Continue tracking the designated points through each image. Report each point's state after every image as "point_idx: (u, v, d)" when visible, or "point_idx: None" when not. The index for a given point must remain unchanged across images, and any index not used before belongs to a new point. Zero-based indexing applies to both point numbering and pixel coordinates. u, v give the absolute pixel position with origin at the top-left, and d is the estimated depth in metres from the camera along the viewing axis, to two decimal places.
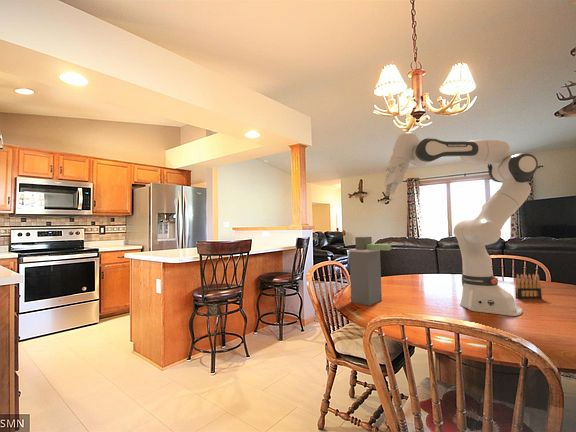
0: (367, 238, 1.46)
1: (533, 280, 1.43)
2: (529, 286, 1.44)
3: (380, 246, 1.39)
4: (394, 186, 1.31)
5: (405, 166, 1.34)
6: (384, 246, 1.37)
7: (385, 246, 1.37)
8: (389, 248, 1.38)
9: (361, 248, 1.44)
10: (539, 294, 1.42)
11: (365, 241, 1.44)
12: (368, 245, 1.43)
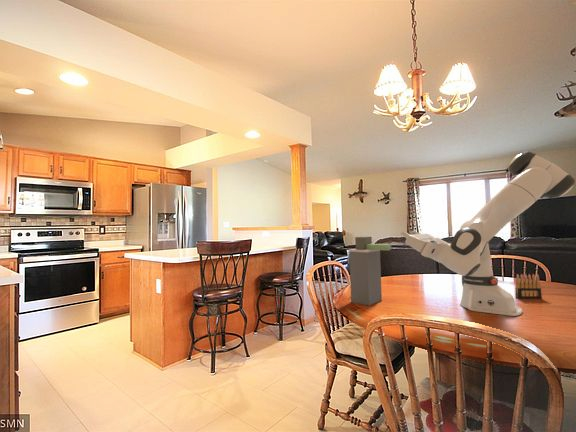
0: (367, 238, 1.46)
1: (533, 280, 1.43)
2: (529, 286, 1.44)
3: (380, 246, 1.39)
4: None
5: None
6: (384, 246, 1.37)
7: (385, 246, 1.37)
8: (389, 248, 1.38)
9: (361, 248, 1.44)
10: (539, 294, 1.42)
11: (365, 241, 1.44)
12: (368, 245, 1.43)
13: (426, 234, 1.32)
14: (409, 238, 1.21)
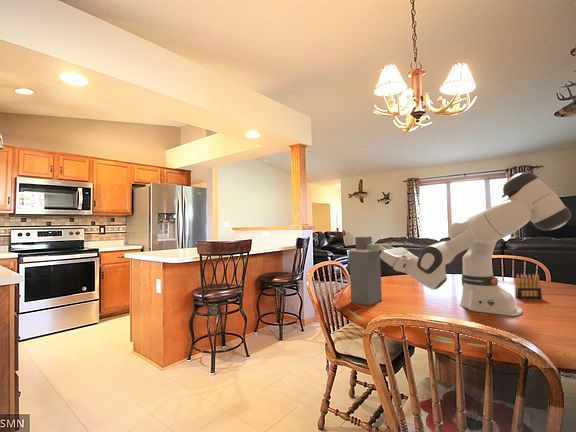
0: (367, 238, 1.46)
1: (533, 280, 1.43)
2: (529, 286, 1.44)
3: None
4: None
5: None
6: (384, 246, 1.37)
7: (385, 246, 1.37)
8: (389, 248, 1.38)
9: (361, 248, 1.44)
10: (539, 294, 1.42)
11: (365, 241, 1.44)
12: (368, 245, 1.43)
13: (401, 248, 1.40)
14: (382, 253, 1.29)
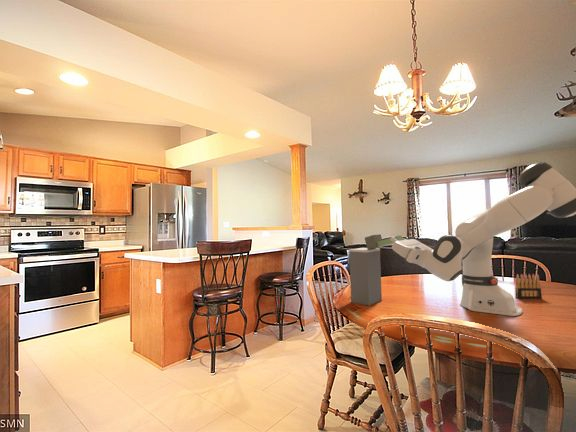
0: (377, 236, 1.43)
1: (533, 280, 1.43)
2: (529, 286, 1.44)
3: None
4: None
5: None
6: None
7: (396, 237, 1.34)
8: (401, 239, 1.34)
9: (373, 247, 1.41)
10: (539, 294, 1.42)
11: (375, 239, 1.41)
12: (379, 242, 1.40)
13: (413, 240, 1.37)
14: (395, 244, 1.25)
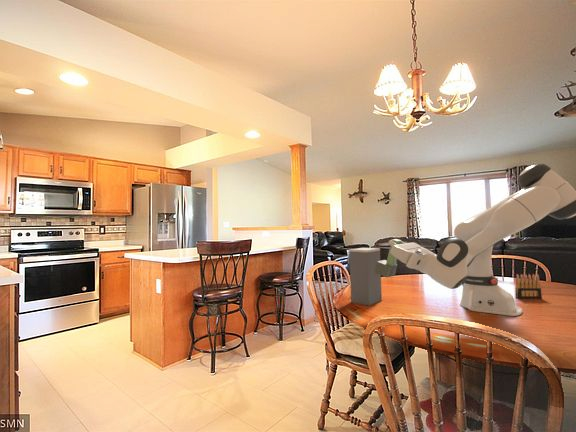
0: (382, 261, 1.29)
1: (533, 280, 1.43)
2: (529, 286, 1.44)
3: (391, 247, 1.24)
4: None
5: None
6: None
7: None
8: (398, 240, 1.24)
9: (387, 269, 1.24)
10: (539, 294, 1.42)
11: (382, 262, 1.27)
12: (387, 261, 1.25)
13: (413, 243, 1.26)
14: (394, 248, 1.15)
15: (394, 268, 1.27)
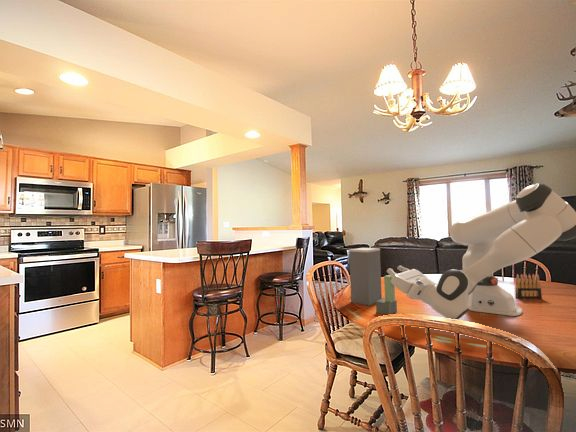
0: (381, 299, 1.29)
1: (533, 280, 1.43)
2: (529, 286, 1.44)
3: (386, 283, 1.26)
4: None
5: None
6: (385, 279, 1.26)
7: (385, 278, 1.26)
8: (390, 275, 1.27)
9: (387, 307, 1.24)
10: (539, 294, 1.42)
11: (381, 301, 1.27)
12: (386, 298, 1.26)
13: (413, 270, 1.26)
14: (394, 278, 1.15)
15: (394, 304, 1.27)
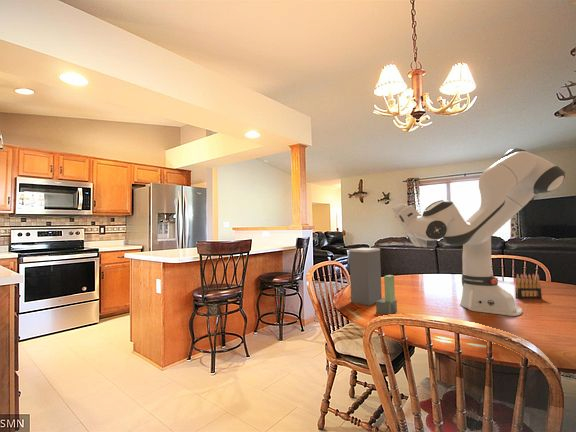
0: (381, 299, 1.29)
1: (533, 280, 1.43)
2: (529, 286, 1.44)
3: (386, 284, 1.26)
4: None
5: None
6: (385, 279, 1.26)
7: (385, 278, 1.26)
8: (390, 275, 1.27)
9: (387, 307, 1.24)
10: (539, 294, 1.42)
11: (381, 301, 1.27)
12: (386, 298, 1.26)
13: None
14: (397, 204, 1.28)
15: (394, 304, 1.27)
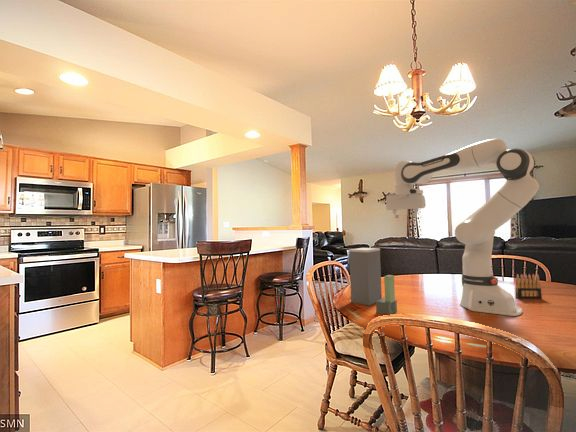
0: (381, 299, 1.29)
1: (533, 280, 1.43)
2: (529, 286, 1.44)
3: (386, 283, 1.26)
4: None
5: None
6: (385, 279, 1.26)
7: (385, 278, 1.26)
8: (390, 275, 1.27)
9: (387, 307, 1.24)
10: (539, 294, 1.42)
11: (381, 301, 1.27)
12: (386, 298, 1.26)
13: (391, 207, 1.60)
14: (423, 205, 1.49)
15: (394, 304, 1.27)
